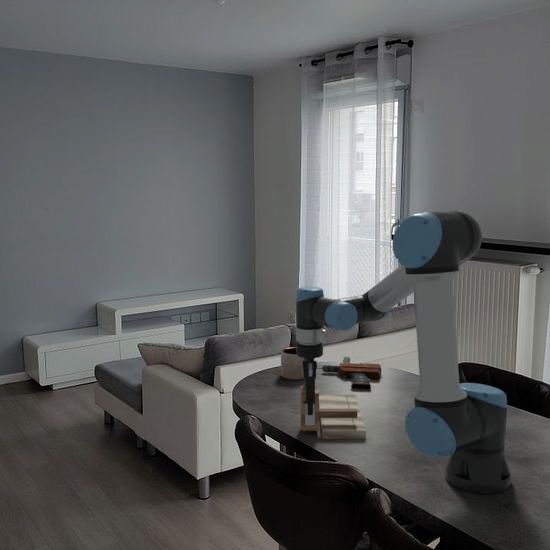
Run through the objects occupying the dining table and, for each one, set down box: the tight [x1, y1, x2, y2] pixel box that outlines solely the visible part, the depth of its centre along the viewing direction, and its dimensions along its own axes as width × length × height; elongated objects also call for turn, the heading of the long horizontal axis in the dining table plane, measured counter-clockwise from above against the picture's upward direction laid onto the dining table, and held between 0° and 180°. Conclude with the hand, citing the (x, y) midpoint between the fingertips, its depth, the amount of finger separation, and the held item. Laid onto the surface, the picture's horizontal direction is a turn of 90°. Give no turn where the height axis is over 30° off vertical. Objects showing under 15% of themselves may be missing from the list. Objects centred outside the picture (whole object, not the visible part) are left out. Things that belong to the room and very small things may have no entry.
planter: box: [280, 346, 305, 381], centre depth 237 cm, size 11×11×10 cm
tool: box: [316, 356, 382, 391], centre depth 237 cm, size 4×27×30 cm
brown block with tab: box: [300, 385, 357, 432], centre depth 184 cm, size 6×16×11 cm, turn 89°
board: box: [319, 394, 367, 440], centre depth 195 cm, size 30×12×2 cm, turn 179°
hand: (309, 420), depth 185 cm, fingers closed on brown block with tab, 6 cm apart
